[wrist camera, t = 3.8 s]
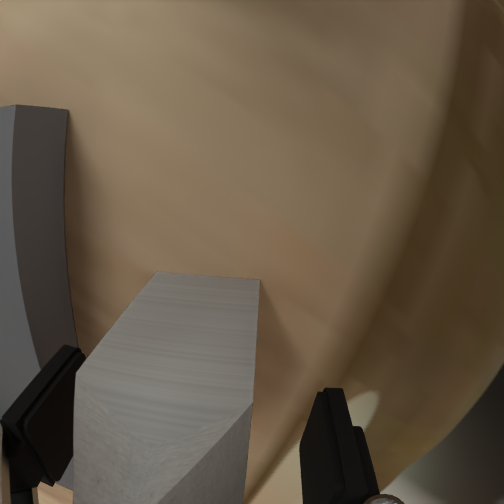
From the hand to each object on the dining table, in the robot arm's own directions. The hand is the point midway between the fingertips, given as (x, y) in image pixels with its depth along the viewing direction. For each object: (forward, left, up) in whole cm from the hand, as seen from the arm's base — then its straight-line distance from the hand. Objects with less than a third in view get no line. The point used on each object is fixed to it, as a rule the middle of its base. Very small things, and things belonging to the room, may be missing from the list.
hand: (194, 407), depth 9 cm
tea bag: (0, 0, -3) cm, 3 cm away
